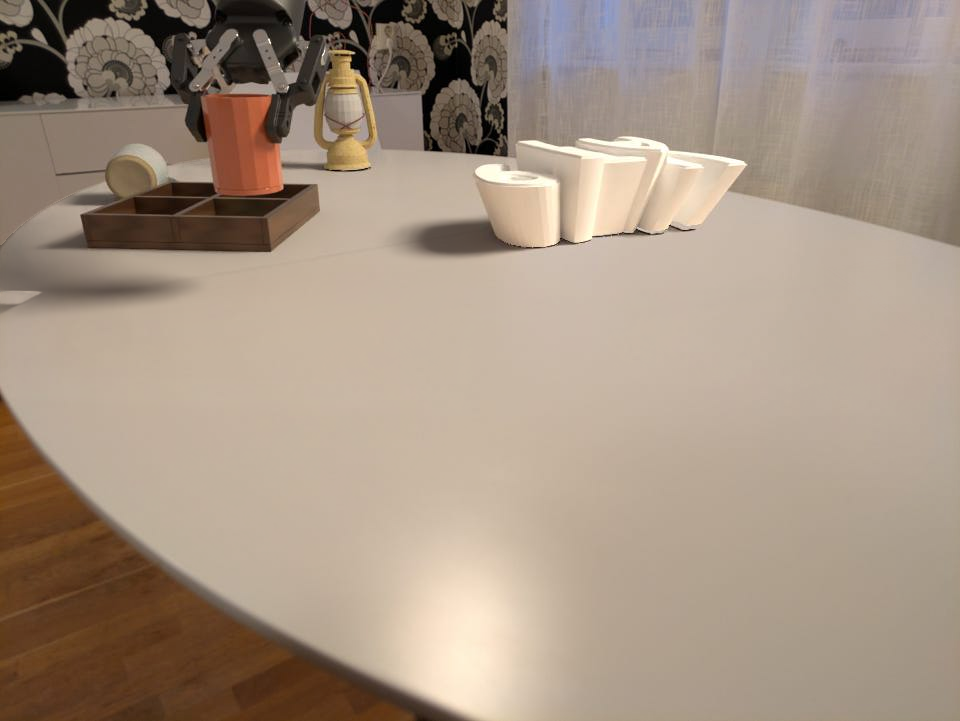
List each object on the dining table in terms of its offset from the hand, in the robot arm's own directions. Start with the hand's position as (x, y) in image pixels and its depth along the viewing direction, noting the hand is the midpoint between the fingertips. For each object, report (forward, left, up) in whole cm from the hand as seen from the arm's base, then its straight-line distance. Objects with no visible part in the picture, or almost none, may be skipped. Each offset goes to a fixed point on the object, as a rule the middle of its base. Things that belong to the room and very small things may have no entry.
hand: (235, 136), depth 58 cm
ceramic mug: (-31, +42, -14) cm, 54 cm away
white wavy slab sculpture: (+35, +28, -14) cm, 47 cm away
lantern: (-8, +75, -14) cm, 76 cm away
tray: (-14, +25, -14) cm, 31 cm away
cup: (0, +2, -5) cm, 5 cm away
